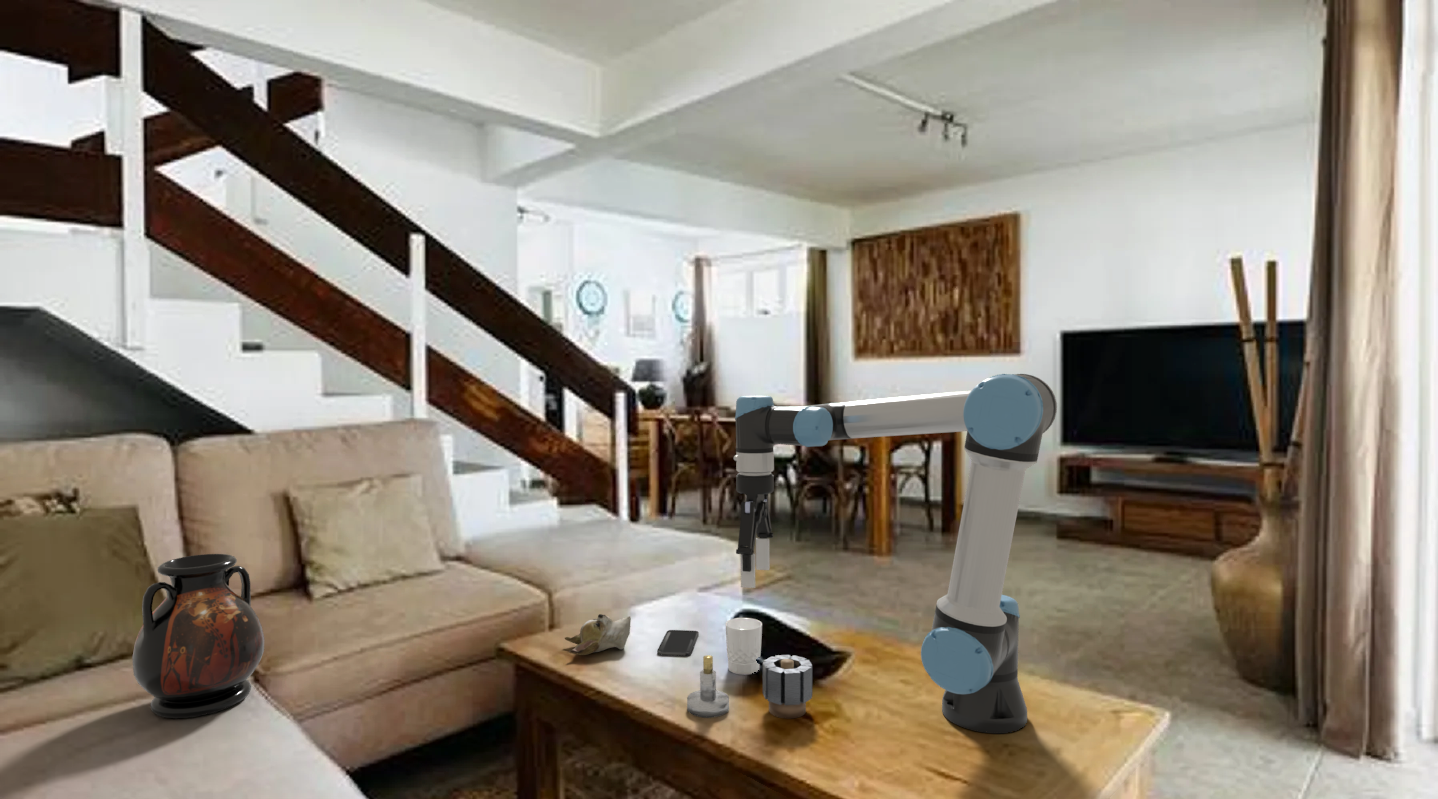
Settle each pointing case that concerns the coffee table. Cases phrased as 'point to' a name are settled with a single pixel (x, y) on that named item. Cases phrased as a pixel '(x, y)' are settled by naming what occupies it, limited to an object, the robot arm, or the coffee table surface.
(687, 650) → the phone
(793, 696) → the collar
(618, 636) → the ceramic sculpture
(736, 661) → the white cup
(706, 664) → the brass-tipped marble post
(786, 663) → the stand
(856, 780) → the coffee table surface
